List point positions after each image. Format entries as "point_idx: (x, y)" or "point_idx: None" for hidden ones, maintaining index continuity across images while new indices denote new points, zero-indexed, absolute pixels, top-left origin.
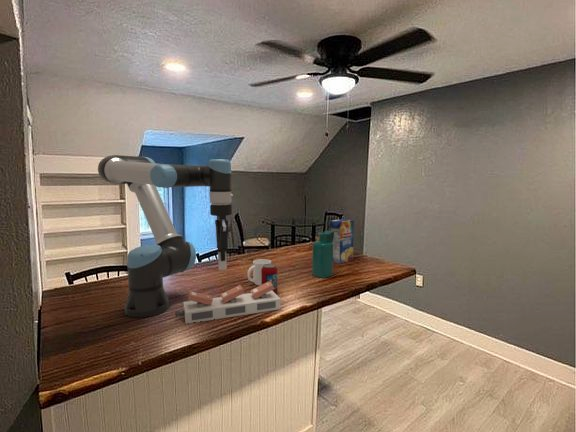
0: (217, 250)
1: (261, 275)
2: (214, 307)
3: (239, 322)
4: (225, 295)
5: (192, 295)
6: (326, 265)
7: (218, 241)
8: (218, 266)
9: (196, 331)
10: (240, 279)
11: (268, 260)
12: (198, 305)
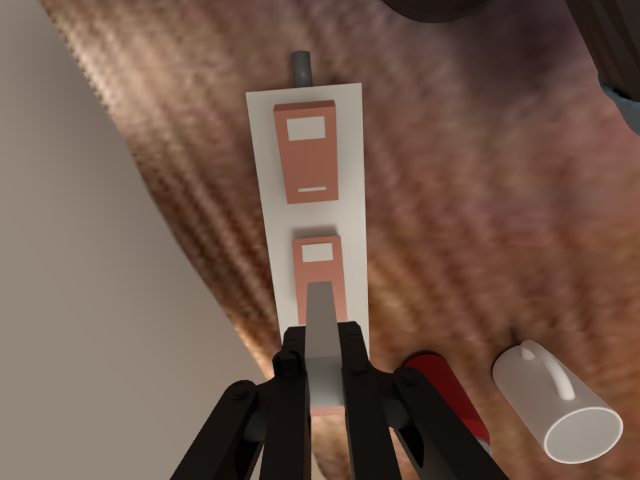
0: (296, 362)
1: (455, 397)
2: (270, 203)
3: (231, 262)
4: (304, 254)
5: (279, 121)
6: None
7: (352, 445)
8: (327, 288)
9: (192, 134)
10: (595, 309)
11: (586, 457)
12: None
